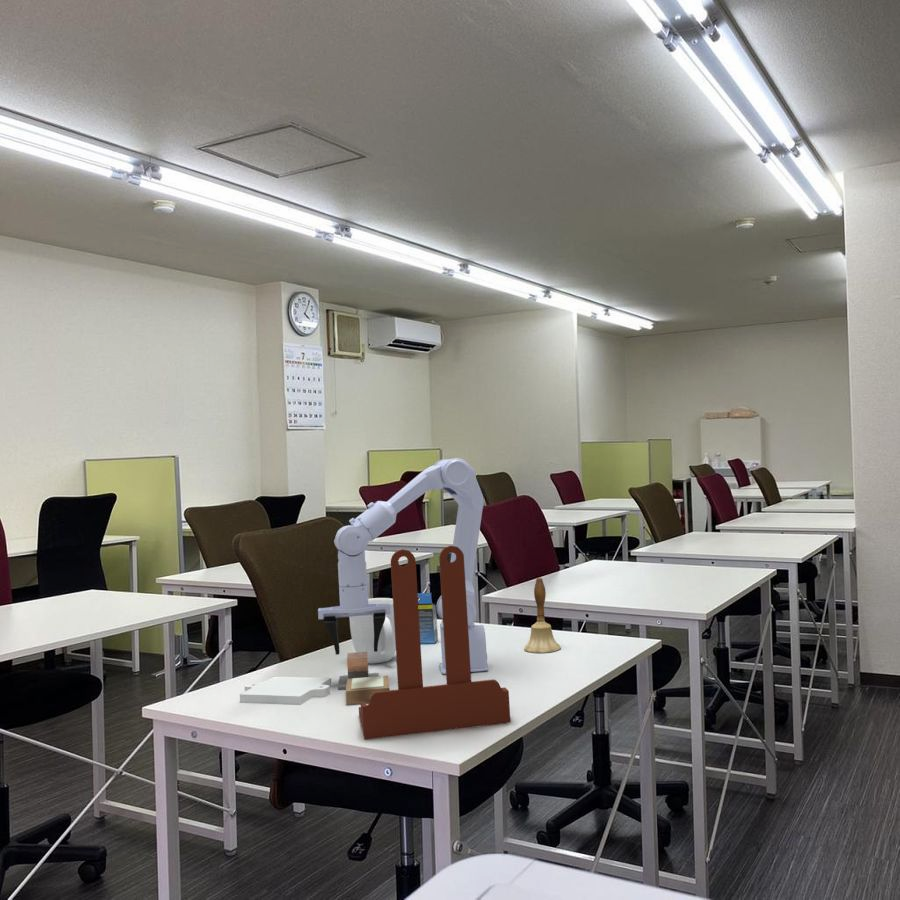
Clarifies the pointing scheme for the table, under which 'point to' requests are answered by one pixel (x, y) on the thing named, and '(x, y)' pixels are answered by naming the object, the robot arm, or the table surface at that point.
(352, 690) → the stand
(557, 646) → the hand bell
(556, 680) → the table surface
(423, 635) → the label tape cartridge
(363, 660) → the block
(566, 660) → the table surface
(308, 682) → the mounting plate
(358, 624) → the mug
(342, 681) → the mat
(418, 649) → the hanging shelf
